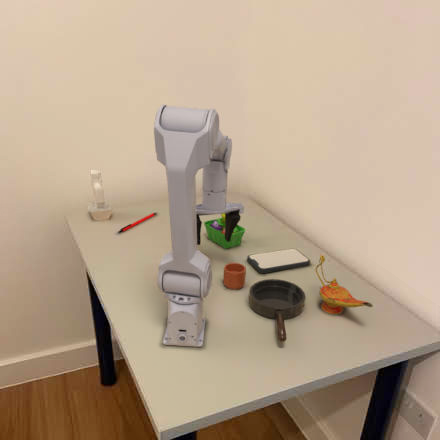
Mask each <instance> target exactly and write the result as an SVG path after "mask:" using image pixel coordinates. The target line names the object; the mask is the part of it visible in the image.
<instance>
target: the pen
mask: <svg viewBox="0 0 440 440" xmlns="http://www.w3.org/2000/svg"><path fill="white" fill-rule="evenodd" d="M156 215H157V212H153V213H150V214H149V215H146V216H145V217H142V218H140V219H139V220H137V221H135V222H132V223H129V224H127V225H126V226H124V227H122V228H120V230H119V231H118V232H117V233H118V234H120V233H124V232H126V231H128V230H129V229H131V228H133V227H135V226H138V225H139V224H141V223H144V222H145V221H147V220H149V219H151V218H152V217H155V216H156Z"/></svg>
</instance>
